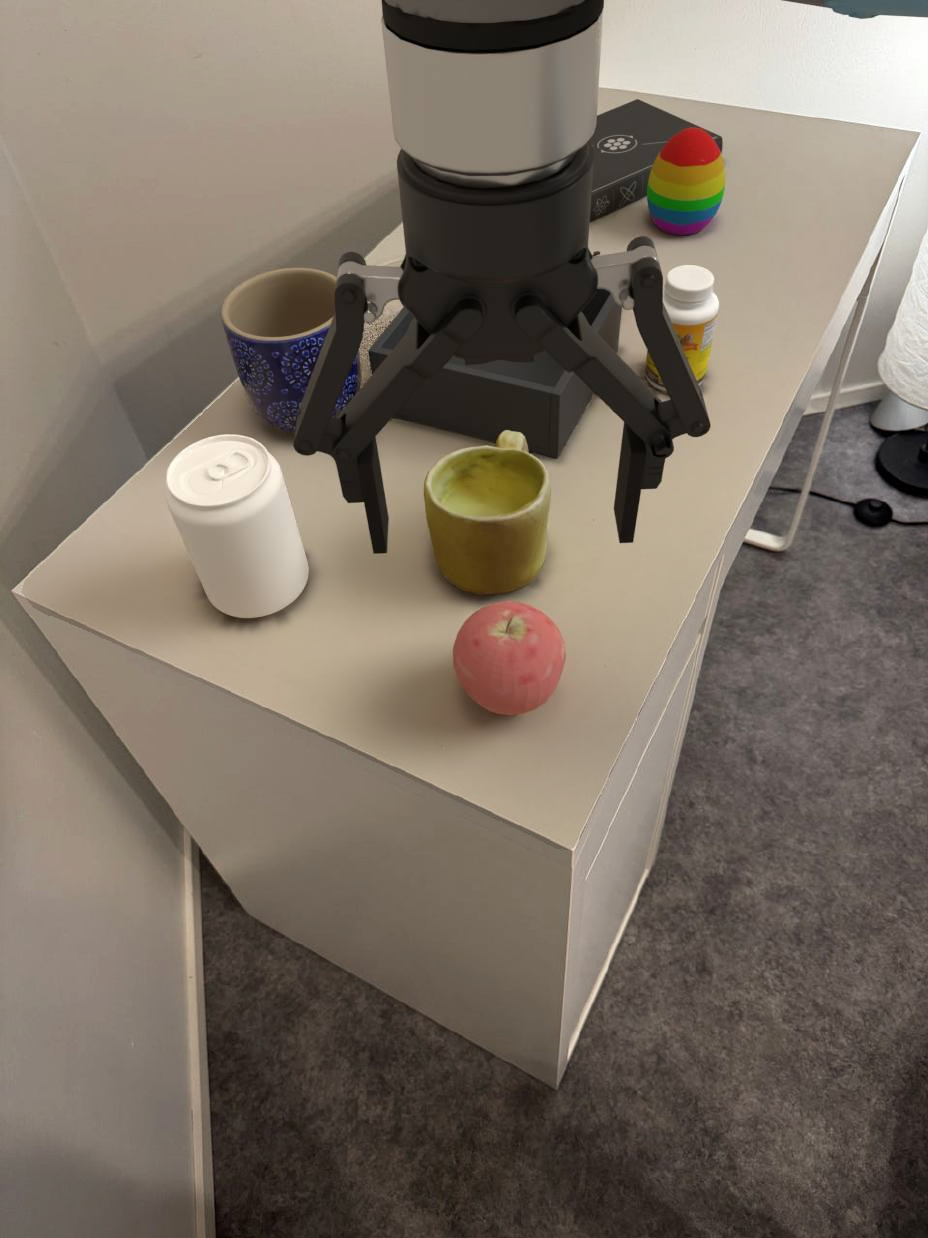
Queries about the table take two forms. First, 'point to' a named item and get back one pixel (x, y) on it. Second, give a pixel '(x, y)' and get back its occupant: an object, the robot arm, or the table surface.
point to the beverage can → (237, 525)
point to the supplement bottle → (689, 317)
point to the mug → (489, 515)
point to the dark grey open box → (504, 388)
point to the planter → (282, 340)
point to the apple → (509, 657)
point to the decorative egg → (686, 182)
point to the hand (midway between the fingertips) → (501, 531)
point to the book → (629, 152)
